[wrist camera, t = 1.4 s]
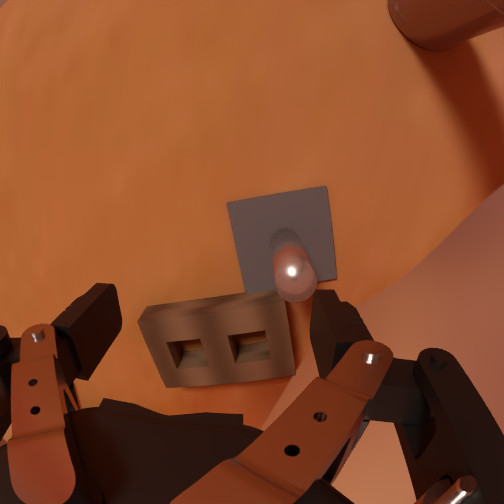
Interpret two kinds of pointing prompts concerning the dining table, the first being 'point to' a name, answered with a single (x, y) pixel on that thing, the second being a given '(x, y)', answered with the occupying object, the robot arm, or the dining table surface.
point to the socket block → (219, 339)
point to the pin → (291, 267)
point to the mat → (277, 217)
